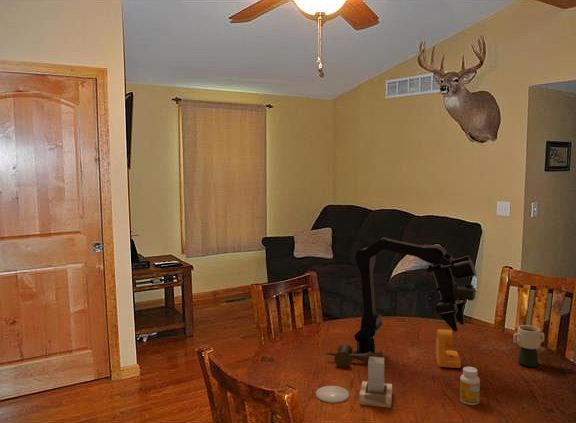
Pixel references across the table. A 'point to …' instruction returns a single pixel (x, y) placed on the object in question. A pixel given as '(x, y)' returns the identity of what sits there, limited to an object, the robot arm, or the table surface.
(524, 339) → the character mug
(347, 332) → the table surface
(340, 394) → the coaster
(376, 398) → the collar
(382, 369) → the steel peg
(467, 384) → the supplement bottle
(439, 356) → the bracket
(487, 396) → the table surface
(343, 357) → the kendama
